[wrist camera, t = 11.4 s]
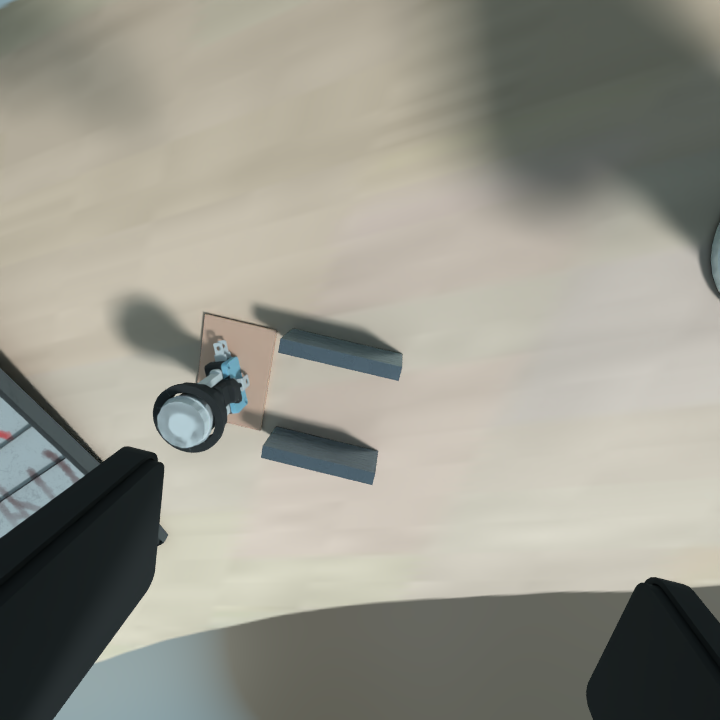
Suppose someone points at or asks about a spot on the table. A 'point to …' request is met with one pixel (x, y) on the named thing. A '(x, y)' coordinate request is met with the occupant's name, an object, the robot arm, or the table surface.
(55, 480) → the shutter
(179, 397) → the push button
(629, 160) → the table surface
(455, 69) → the table surface
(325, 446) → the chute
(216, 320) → the mat
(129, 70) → the table surface
